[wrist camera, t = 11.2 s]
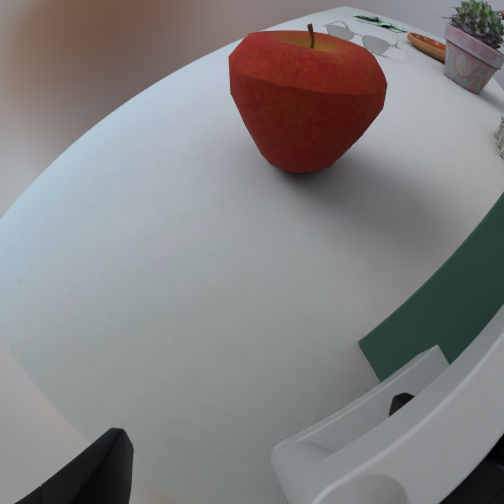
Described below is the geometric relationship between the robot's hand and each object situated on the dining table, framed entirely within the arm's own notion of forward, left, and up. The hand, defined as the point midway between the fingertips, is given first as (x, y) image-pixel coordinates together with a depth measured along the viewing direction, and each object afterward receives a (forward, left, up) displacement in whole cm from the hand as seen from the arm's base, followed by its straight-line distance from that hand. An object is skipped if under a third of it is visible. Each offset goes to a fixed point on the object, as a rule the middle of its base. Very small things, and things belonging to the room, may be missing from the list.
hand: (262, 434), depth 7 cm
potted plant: (+70, -27, -7) cm, 75 cm away
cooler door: (-2, -7, -7) cm, 10 cm away
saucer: (+94, -28, -7) cm, 98 cm away
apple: (+20, +3, -7) cm, 21 cm away
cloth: (+120, -9, -7) cm, 120 cm away
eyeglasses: (+74, -3, -7) cm, 74 cm away
